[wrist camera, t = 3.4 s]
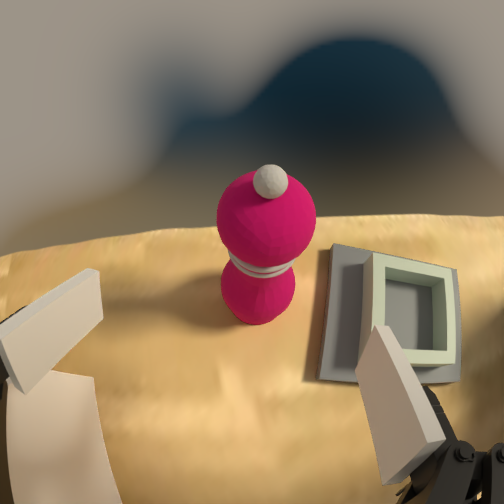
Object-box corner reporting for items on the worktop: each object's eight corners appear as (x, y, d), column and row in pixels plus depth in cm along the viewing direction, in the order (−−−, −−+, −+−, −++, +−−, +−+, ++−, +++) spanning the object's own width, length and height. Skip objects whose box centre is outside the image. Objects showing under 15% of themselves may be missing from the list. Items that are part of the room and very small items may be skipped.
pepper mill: (301, 298, 31) (369, 177, 13) (255, 342, 28) (275, 266, 11) (256, 257, 33) (269, 112, 15) (210, 296, 31) (168, 169, 13)
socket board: (450, 273, 32) (468, 260, 28) (453, 382, 25) (474, 378, 21) (330, 248, 34) (340, 230, 30) (315, 379, 26) (327, 378, 22)
